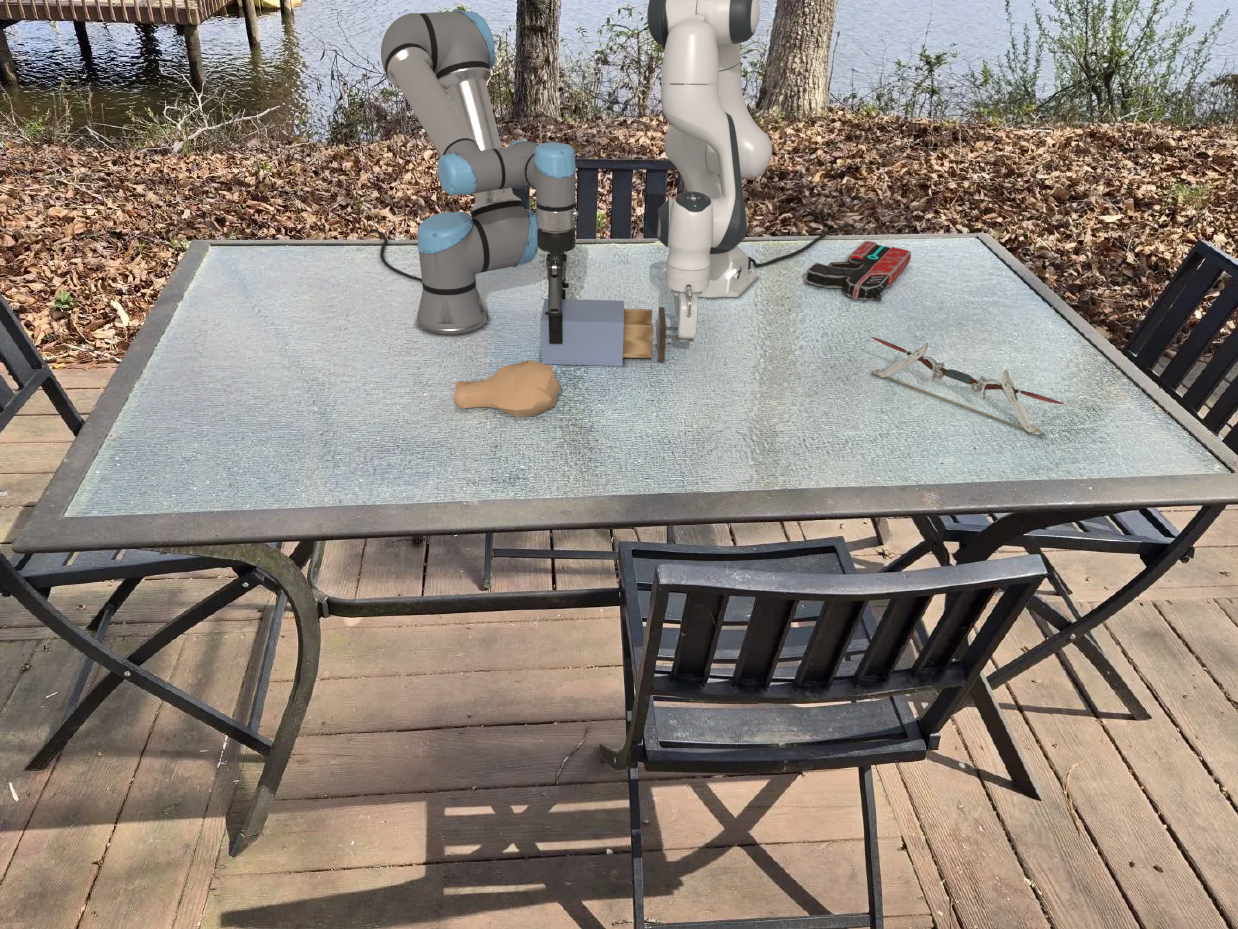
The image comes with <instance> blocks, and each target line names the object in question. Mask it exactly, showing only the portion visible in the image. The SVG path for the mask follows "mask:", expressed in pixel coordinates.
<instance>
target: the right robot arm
mask: <svg viewBox="0 0 1238 929" xmlns="http://www.w3.org/2000/svg"><path fill="white" fill-rule="evenodd" d="M760 15H761V7H760V2H759V0H648V6H647V10H646V21H647V27H648V32H649V35H650V36H651V37H652V39H653V40H654V41H655V43H656V44H658V45H660V47H661V49H662V50H663V51H664V53H663V59H662V67H661V81H660V82H661V83H660V84H661V85H660V100H661V109H662V110H661V112H662V113H663V116H664V118H665V120H666V121H667V122H668V123H669V127H668V129H667V131H666V133H665V136H664V143H663V144H664V146H663V147H664V152H665V154H666V157H667V158H668V160H669V161H670V162H671V163H672V164H673V165H674V167H675V168H676V170H677V171H678V173H679V174H680V177H681V178H682V181H683V184H684V187H685V190H686V191H683V192H680V193H678V194H677V195H675V197H673V198H671V199H667V200H666V201H664V202H663V203H662V204H661V206H660V207H659V208H658V209H657V225H656V239H657V240H658V241H659V242H660V243H661V244H662V245H663V246H664V247H665V248H668V255H667V257H666V265H665V266H666V267H665V286H666V287H667V288H668V289H670V292H671V294H672V295H673V300H674V309H675V319H676V320H675V321H676V327H677V330H678V331H677V336H678V337H679V338H694V339H696V337H697V332H698V316H699V300H698V298H707V299H708V298H709V299H711V298H712V299H713V298H723V297H724V298H738V297H740V295H742V293H744V292H745V290H746V289H748V288H749V287H750V286H751V285H752V284H753V283H754V282H755V281H756V279H757V273H756V272H754V271H752V270H751V265H753V267H755V268H760V267H765V266H769V265H772V264H774V263H777V262H779V261H783V260H785V259H789V258H791V257H794V256H796V255H799V254H801V253H803V252H804V251H806V250H807V249H809V248H810V247H812V246H813V245H815V244H816V243H817V242H819V241H820V240H821V239H823V238H824V237H827V235H829V234H831V233H834V232H837V231H839V230H843V229H845V228H852V229H853V230H855V229H857V227H856V226H855V225H854V224H853V223H845V224H842V225H839V226H837V227H833V228H831V229H828V230H827V231H825V232H824V233H822V234H821V235H819V236H817V237H816V238H815V239H813V240H812V241H810V242H809V243H808V244H806V245H804V246H803V247H802V248H800V249H797V250H796V251H793V252H790V253H788V254H785V255H782V256H777V257H776V258H772V259H771V260H768V261H765V262H763V263H757V260H755V258H752V256H748V254H747V253H746V252H745V251H743V250H742V249H741V248H740V247H739V246H738V245H739V244H741V243H742V242H743V240H745V238H746V237H747V233H748V222H749V221H748V215H747V211H746V207H745V205H746V204H745V200H744V199H745V198H744V192H743V182H742V179H748V178H749V179H750V178H758V177H760V176H761V175H762V174H764V172H765V171H766V170H767V169H768V167H769V165H770V163H771V161H772V156H773V146H772V142H771V139H770V137H769V135H768V134H767V133H766V132H764V131H763V130H762V129H761V128H760V127H759V125H758V124H757V123H756V121H755V120H754V119H753V117H752V115H751V114H750V112H749V109H748V108H747V105H746V101H745V99H744V95H743V86H742V84H743V83H742V69H741V67H742V66H741V63H742V62H741V44H742V43H745V42H748V41H749V40H750V39H751V38H752V37H753V36H754V35H755V33H756V29H757V27H758V25H759V21H760ZM818 237H819V238H818ZM678 341H679V342H680V343H687V342H689V340H681V339H678Z"/></svg>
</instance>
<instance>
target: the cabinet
mask: <svg viewBox="0 0 1238 929" xmlns="http://www.w3.org/2000/svg"><path fill="white" fill-rule="evenodd" d="M624 309H625V301H624V300H613V299H612V300H611V299H610V300H609V299H607V300H606V299H579V298H578V299H574V298H572V299H571V298H566V299H562V308H561V311H562V324H563V344H549V316H548V315H545V311H548V298H544V300H543V305H542V311H541V316H540V352H541V353H540V358H541V362H540V363H543V364H546V365H568V366H569V365H573V366H574V365H575V366H604V367H605V366H607V367H611V366H612V367H623V365H624V364H623V363H624V361H623V360H624V357H623V337H624Z"/></svg>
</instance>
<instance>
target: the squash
mask: <svg viewBox="0 0 1238 929" xmlns="http://www.w3.org/2000/svg"><path fill="white" fill-rule="evenodd" d="M454 385H455V389H454V394H453V395H454V397H453V403H454V404H455V405H456V406H457V407H458V409H460V410H463V409H470V408H482V407H483V408H485V407H486V408H491V409H498V410H500V411H502V412H504V413H506V414H507V415H510V416H513V417H515V418H525V417H526V418H528V417H529V418H530V417H536V416H539V415H540V414H542V413H545V411H546V412H547V411H548V410H550V409H552V408H554V406H555V404H556V402H557V401H558V397H559V393H560V388H561V386H560V383H559V382H558V379H557V377H556V375H555V373H554V370H553V366H552V365H550V364H543V363H541V362H539V361H535V360H529V359H528V360H524V361H521V362H518V363H512V364H507V365H503V366H502V367H500V368H499V369H497V370H496V371H495V373H494V374H493V375H491V376H489V377H488V378H486V379H482V380H481V379H480V380H473V381H463V380H462V381H461V380H459V381H457V382H455V384H454Z"/></svg>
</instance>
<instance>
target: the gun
mask: <svg viewBox="0 0 1238 929" xmlns="http://www.w3.org/2000/svg"><path fill="white" fill-rule="evenodd" d="M911 259H912V251H911V250H908V249H905V248H904V249H903V248H899V247H895V246H892V247H890V246H885V245H881V244H878V243H877V242H875V241H870V240H864V241H863V242H862V243H861V244H860V245H858V246H857V247H856V248H855V249H854V250H853V251H852V252H851V253H850V254H849V256H848V258H847V260H846V261H830V262H829V263H828V264H823V263H820V262H817V261H816V262H815V263H814V264H813V265H810V267H809V268H807V269H806V276H805V282H806V283H808V284H810V285H814V286H816V287H820V288H826V289H844V290H843V293H844V294H845V295H846V296H847V297H850V298H851V299H852V300H862V301H869V300H876V301H878V302H881V300H882V297H883V296H882V293H883V292H884V291H885V290H886V289H888V288H889V287H890V286H892V284H893V283H895V281H896V280H898V278H899V277H900V275H901V274H903V272H904V271H905V269H906V268H907V266H908V265H909V263H910V261H911Z"/></svg>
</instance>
